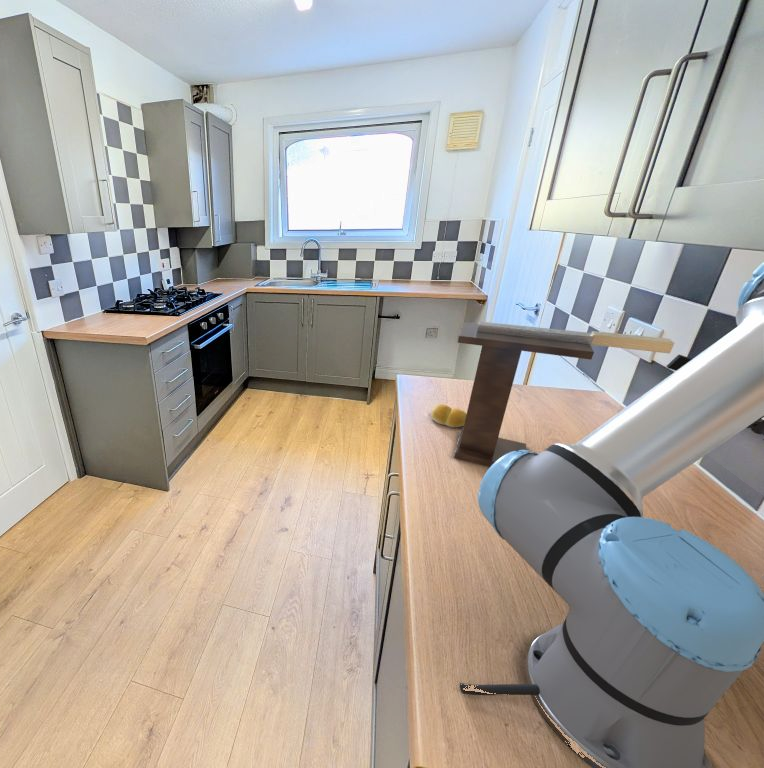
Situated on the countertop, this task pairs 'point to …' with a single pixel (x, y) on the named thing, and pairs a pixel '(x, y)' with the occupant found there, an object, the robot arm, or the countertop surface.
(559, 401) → the countertop surface
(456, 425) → the bread roll
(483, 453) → the shelf stand
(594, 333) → the kitchen knife
